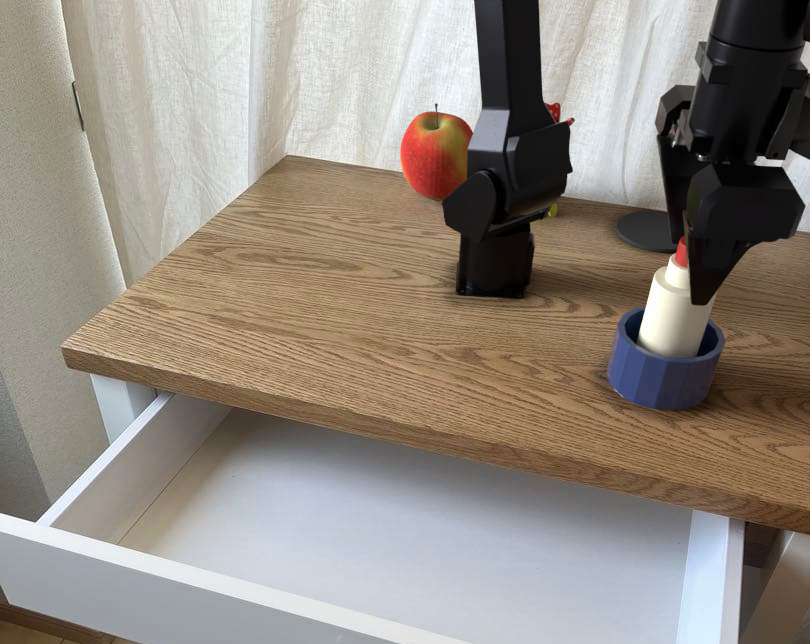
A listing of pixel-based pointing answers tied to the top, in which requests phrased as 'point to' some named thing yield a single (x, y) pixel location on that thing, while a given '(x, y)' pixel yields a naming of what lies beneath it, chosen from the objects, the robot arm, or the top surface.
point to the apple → (435, 153)
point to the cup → (661, 368)
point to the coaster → (647, 231)
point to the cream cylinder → (673, 312)
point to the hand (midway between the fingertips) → (687, 272)
